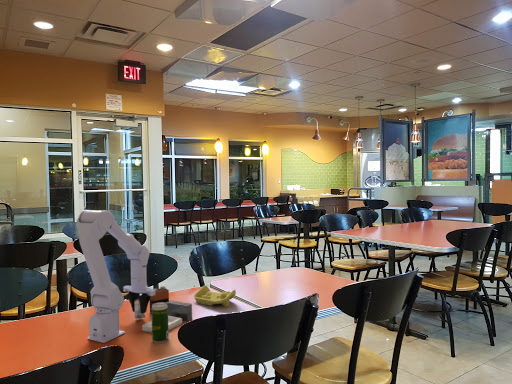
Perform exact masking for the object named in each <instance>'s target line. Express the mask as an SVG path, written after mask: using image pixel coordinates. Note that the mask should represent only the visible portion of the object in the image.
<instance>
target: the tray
mask: <svg viewBox="0 0 512 384" xmlns="http://www.w3.org/2000/svg"><path fill="white" fill-rule="evenodd" d="M182 324H183V321H182V318H178V317H173V316H168V332H169V331H171V330H173V329H175V328H177V327H179V326H180V325H182ZM141 325H142V326H141V331H142V332H145V333H151V334H152V320H150V321H148V322H146V323H143V324H141Z"/></svg>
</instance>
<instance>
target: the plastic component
mask: <svg viewBox="0 0 512 384" xmlns="http://www.w3.org/2000/svg"><path fill="white" fill-rule="evenodd" d="M236 295H237V292H236V290H235V289H233V290H231V291H230V290H229V291H228V290H227V291H223V292H216V291H211V289H210V288H209V287H208V286H207V285H203V286H202V287H201V288H200V289H199V290H197V292H195V293H194V294H193V298H194V300H195V302H196V303H197V304H201V305H206V306H211V307H212V306H214V305H218V304H221V305H222V306H223V307H225V306H227V307H229V306H230V305H231V301H230V300H232V299H233V298H235V296H236Z"/></svg>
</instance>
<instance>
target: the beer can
mask: <svg viewBox="0 0 512 384" xmlns="http://www.w3.org/2000/svg"><path fill="white" fill-rule="evenodd" d="M151 310H152V313H151V321H152V333H151V335H152V336H151V340H152V341H153V343H155V344H163V343H165V342H167V341H169V335H170V334H169V333H170V332H169V331H168V306H167V303H164V302H159V303H155V304H153V305H152V308H151Z"/></svg>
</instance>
